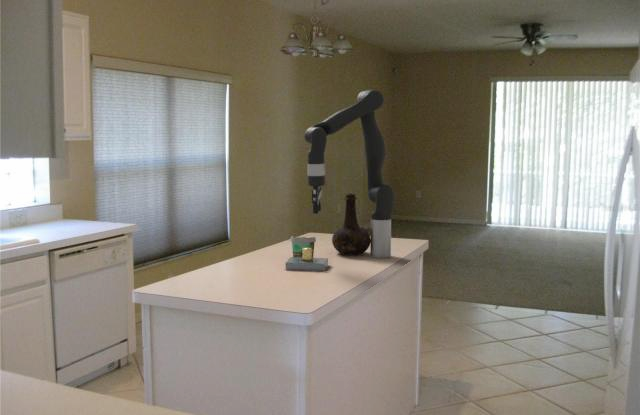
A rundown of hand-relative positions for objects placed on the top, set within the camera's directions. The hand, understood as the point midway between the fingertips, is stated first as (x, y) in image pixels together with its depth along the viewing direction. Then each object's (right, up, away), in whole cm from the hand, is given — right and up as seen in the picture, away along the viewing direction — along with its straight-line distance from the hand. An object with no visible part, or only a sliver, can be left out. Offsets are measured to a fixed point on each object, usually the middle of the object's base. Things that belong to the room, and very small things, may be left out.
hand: (317, 212), depth 274 cm
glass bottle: (+16, -20, +25) cm, 35 cm away
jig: (-4, -23, -8) cm, 25 cm away
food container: (-7, -21, +11) cm, 25 cm away
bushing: (-4, -23, -8) cm, 25 cm away
